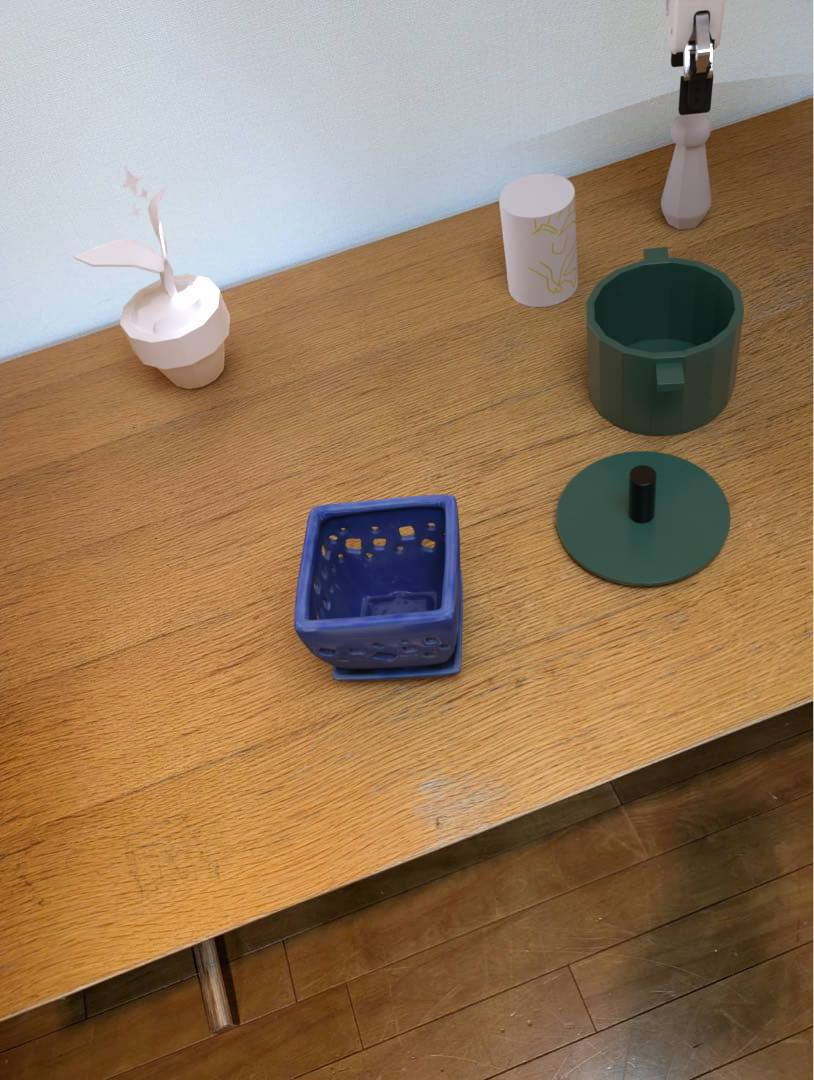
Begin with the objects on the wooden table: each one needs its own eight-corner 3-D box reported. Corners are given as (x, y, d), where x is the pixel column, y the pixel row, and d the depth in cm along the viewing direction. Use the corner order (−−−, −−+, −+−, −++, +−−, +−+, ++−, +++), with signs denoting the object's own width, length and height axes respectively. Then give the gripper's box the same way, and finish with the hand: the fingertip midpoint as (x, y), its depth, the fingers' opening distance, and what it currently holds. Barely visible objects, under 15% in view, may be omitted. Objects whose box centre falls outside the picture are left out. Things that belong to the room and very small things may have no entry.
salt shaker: (650, 216, 121) (654, 116, 111) (691, 199, 122) (698, 98, 111) (677, 240, 117) (683, 139, 107) (719, 222, 118) (729, 120, 108)
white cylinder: (544, 316, 113) (537, 226, 104) (494, 289, 117) (483, 200, 108) (592, 279, 115) (590, 188, 106) (542, 254, 120) (535, 164, 111)
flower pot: (335, 580, 95) (304, 501, 86) (473, 570, 93) (457, 488, 84) (324, 703, 87) (289, 631, 78) (474, 695, 85) (457, 620, 76)
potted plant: (235, 326, 121) (162, 139, 102) (255, 385, 114) (181, 195, 95) (136, 361, 120) (44, 178, 101) (151, 422, 113) (54, 238, 94)
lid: (719, 454, 97) (725, 406, 91) (739, 587, 87) (746, 542, 82) (555, 462, 99) (552, 416, 94) (557, 592, 90) (554, 549, 85)
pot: (721, 316, 108) (729, 235, 100) (744, 452, 96) (756, 372, 88) (585, 326, 111) (583, 248, 103) (591, 460, 99) (589, 383, 91)
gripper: (655, -118, 99) (648, 51, 113) (669, -40, 89) (659, 136, 102) (733, -129, 98) (717, 44, 111) (756, -51, 88) (735, 128, 101)
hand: (689, 87), depth 107 cm, fingers open, 9 cm apart
